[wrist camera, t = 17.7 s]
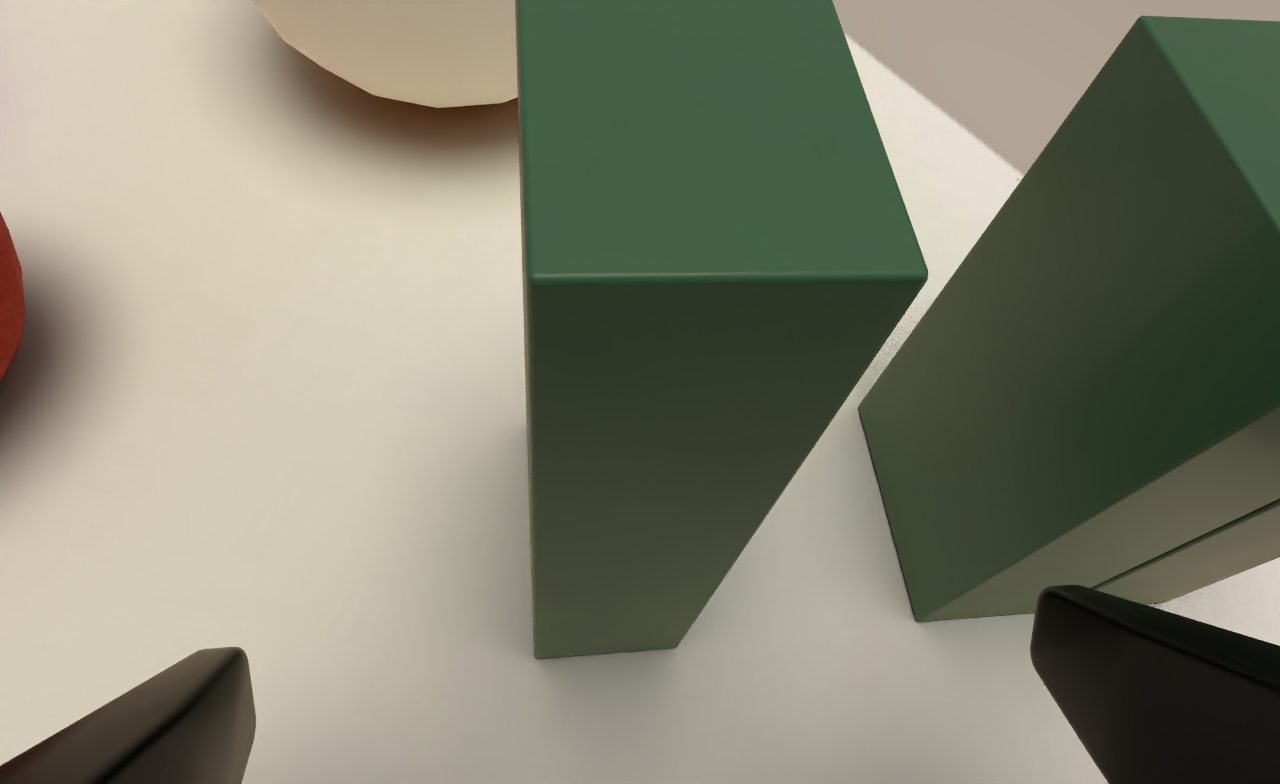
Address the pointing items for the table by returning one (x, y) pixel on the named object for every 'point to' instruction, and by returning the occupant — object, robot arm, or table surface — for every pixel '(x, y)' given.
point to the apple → (9, 299)
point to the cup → (408, 46)
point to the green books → (1105, 349)
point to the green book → (687, 291)
